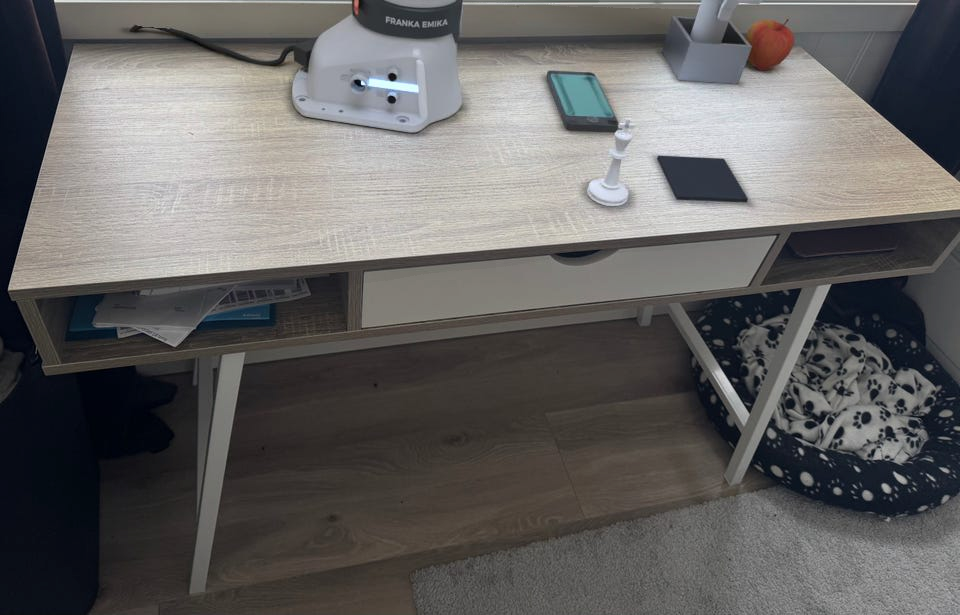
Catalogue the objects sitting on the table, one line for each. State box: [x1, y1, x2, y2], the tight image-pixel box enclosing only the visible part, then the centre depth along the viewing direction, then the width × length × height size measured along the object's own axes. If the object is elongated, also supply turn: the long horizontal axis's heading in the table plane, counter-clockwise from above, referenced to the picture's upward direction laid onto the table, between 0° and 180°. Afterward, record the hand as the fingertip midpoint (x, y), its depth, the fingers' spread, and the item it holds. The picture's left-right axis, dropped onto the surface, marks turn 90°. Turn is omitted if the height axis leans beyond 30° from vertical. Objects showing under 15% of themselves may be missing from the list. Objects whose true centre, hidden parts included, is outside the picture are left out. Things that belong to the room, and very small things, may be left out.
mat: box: [656, 155, 749, 203], centre depth 92 cm, size 9×9×1 cm
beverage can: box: [690, 0, 729, 43], centre depth 111 cm, size 5×5×12 cm
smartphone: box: [545, 70, 620, 133], centre depth 103 cm, size 7×1×15 cm
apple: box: [744, 18, 795, 71], centre depth 116 cm, size 7×7×8 cm
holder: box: [661, 15, 752, 85], centre depth 114 cm, size 10×10×6 cm
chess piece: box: [586, 117, 635, 207], centre depth 84 cm, size 5×5×10 cm
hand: (715, 10), depth 110 cm, fingers closed on beverage can, 5 cm apart
